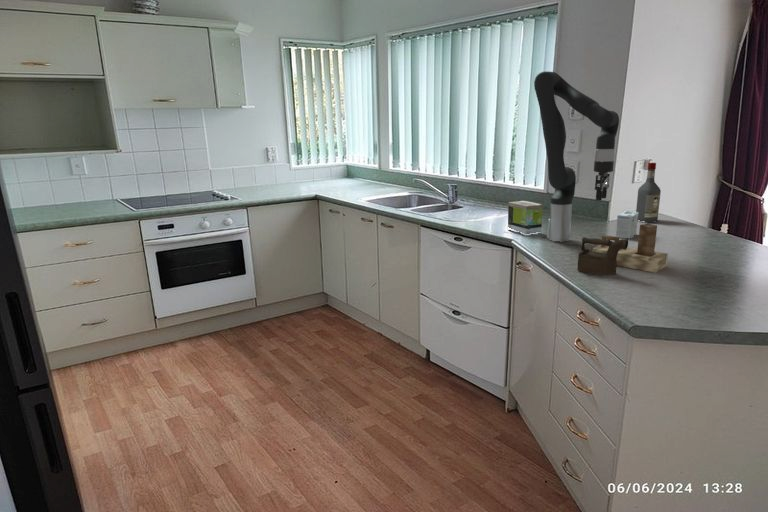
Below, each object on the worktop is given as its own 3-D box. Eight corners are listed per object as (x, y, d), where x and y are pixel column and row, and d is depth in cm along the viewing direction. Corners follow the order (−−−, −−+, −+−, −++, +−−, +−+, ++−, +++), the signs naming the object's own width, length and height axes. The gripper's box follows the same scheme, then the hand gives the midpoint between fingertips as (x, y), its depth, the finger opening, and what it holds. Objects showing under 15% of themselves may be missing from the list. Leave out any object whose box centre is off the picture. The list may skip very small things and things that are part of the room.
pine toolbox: (591, 260, 198) (593, 236, 195) (603, 255, 204) (604, 232, 201) (656, 272, 180) (658, 246, 178) (666, 266, 187) (669, 241, 184)
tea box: (542, 233, 243) (543, 204, 239) (525, 236, 239) (526, 206, 235) (523, 228, 256) (524, 199, 252) (506, 230, 253) (507, 201, 249)
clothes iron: (620, 278, 176) (623, 242, 173) (575, 270, 187) (577, 236, 183) (627, 272, 182) (630, 237, 178) (583, 265, 192) (585, 231, 188)
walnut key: (635, 265, 189) (640, 224, 185) (643, 264, 190) (648, 223, 186) (644, 268, 185) (649, 226, 181) (652, 267, 187) (657, 225, 182)
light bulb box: (621, 232, 238) (623, 210, 235) (636, 234, 234) (639, 212, 231) (615, 237, 230) (617, 214, 227) (630, 239, 226) (633, 216, 223)
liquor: (632, 220, 262) (637, 163, 254) (645, 218, 265) (651, 161, 257) (646, 223, 254) (652, 164, 245) (660, 221, 257) (666, 162, 248)
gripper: (598, 159, 214) (595, 197, 218) (590, 160, 203) (587, 200, 207) (617, 159, 210) (614, 198, 214) (610, 160, 199) (606, 201, 202)
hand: (600, 199), depth 210 cm, fingers open, 8 cm apart
